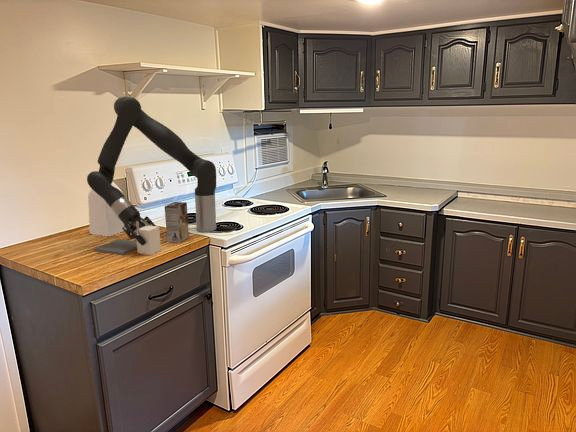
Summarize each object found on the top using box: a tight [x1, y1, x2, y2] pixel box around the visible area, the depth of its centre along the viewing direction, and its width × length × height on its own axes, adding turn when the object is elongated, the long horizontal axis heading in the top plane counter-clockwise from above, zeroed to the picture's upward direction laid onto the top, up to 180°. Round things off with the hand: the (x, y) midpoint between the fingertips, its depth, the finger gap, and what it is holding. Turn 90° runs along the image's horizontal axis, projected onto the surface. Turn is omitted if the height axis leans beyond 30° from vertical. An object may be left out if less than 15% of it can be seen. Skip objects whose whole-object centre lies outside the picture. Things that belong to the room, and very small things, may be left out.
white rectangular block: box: [136, 225, 162, 256], centre depth 177 cm, size 6×6×10 cm
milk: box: [87, 181, 125, 237], centre depth 203 cm, size 12×12×26 cm
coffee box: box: [164, 201, 190, 244], centre depth 193 cm, size 9×6×16 cm
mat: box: [94, 238, 137, 256], centre depth 183 cm, size 14×14×1 cm
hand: (151, 241), depth 177 cm, fingers open, 8 cm apart
